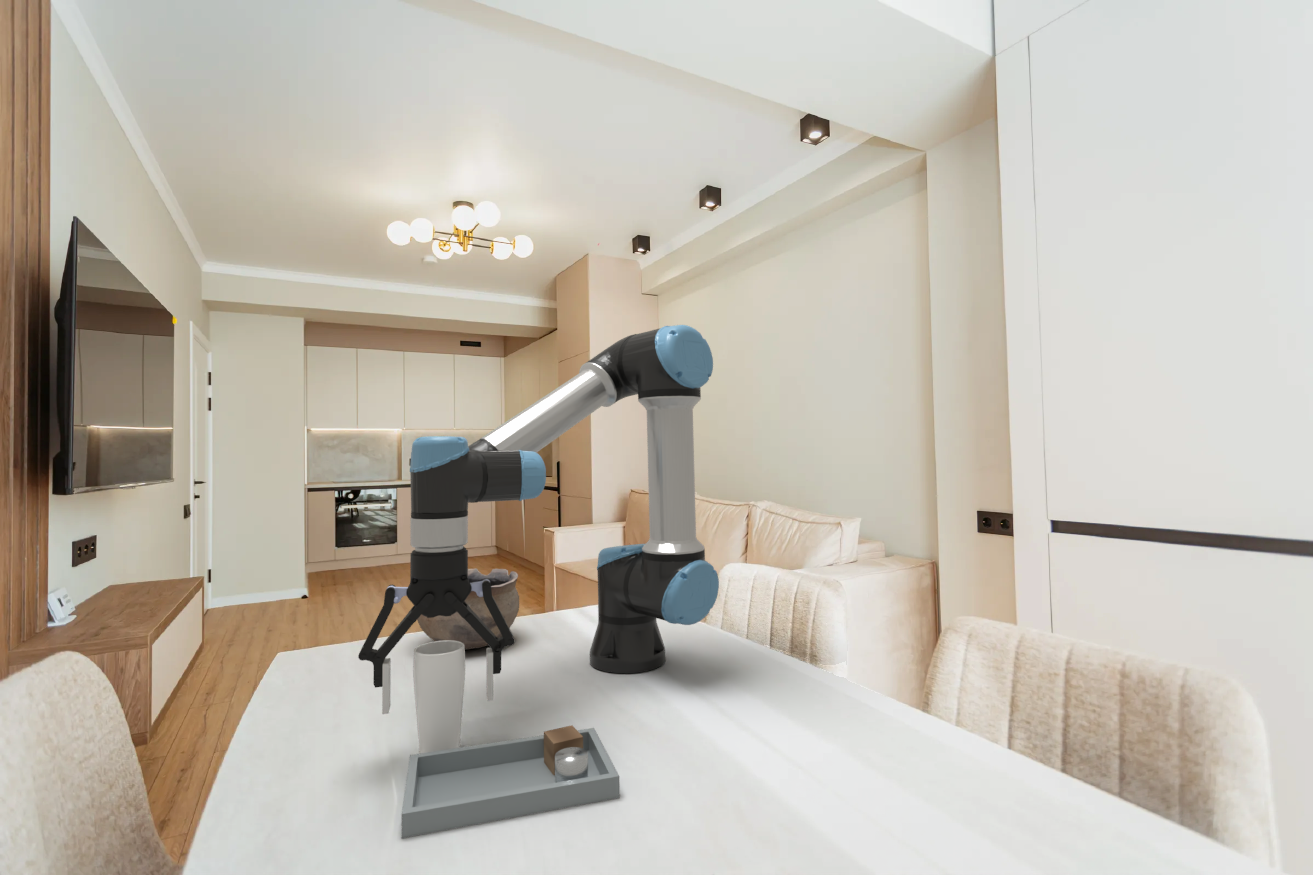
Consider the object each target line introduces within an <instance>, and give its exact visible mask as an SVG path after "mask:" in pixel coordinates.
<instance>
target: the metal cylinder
mask: <svg viewBox="0 0 1313 875" xmlns="http://www.w3.org/2000/svg"><path fill="white" fill-rule="evenodd" d="M586 777H588V752H587V751H586V750H585V749H583V748H578V747H569V748H564V749H562V750H560V751H558V752H557V753H556V754H555V783H557V782H563V781H568V780H574V779H580V778H586Z"/></svg>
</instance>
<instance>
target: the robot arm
mask: <svg viewBox="0 0 1313 875" xmlns="http://www.w3.org/2000/svg"><path fill="white" fill-rule="evenodd" d="M710 347H711V346H709V343H708V342H707V340H706V338H704V337H703V335H702V334H701V332H699V331H698V330H697V329H696V328H694V327H692V326H690V325H686V324H677V325H676V324H675V325H664V326H662V327H660V328H657V329H652V330H649V331H644V332H640V333H634V334H631V335H627V336H626V337H623V338H621V339H620V340H618V341H616V342H614V343H613V344H611V345H610V346H608V347H606V349H604V350H602V351H601V352H599V353H598V354H596V355H595V356H593V357H592V358H591V359H589V360H588V361H586V362H585V363H583V364H581V366H580V368H579V372H578V374H576V375H574V376H572V378H570V379H569V380H567V381H565V382H564V383H562V384H561V385H559V386H557V388H554V390H552V391H551V392H549V393H548V394H546V395H544V396H543V397H541V398H539V399H538V400H537V401H535V402H533V403H532V404H530V405H529V406H528V407H526V408H524V409H523V410H522V411H520V412H518V413H517V414H515V415H514V416H512V417H511V418H509V419H508V420H507V421H504V423H502V424H501V425H498V426H497V427H495V428H494V429H493V430H491V431H490V432H488V433H486V434H485V435H484V436H482V437H480V438H479V439H478V440H475V441H474V442H472V443H471V444H469V442H468V439H467V438H466V437H464V436H448V435H447V436H444V435H443V436H442V435H441V436H440V435H438V436H434V435H431V436H429V435H427V436H419V437H418V438H415V439H414V441H413V442H412V444H411V452H410V463H409V464H410V467H409V474H410V517H409V518H410V524H409V525H410V526H409V528H410V535H409V536H410V546H411V547H412V548H414V549H413V550H412V551H411V552H410V561H409V562H410V576H409V577H410V578H409V580H410V582H409V585H408V586H396V585H395V584H389V585H388V586H386V590H385V591H384V597H383V598H384V599H383V605H382V607H381V609H380V611H379V613H378V615H377V618H376V619H375V622H374V623H373V625H372V627H371V629H370V631H369V633H368V635H367V637H366V638H365V641H364V643H363V645H362V647H361V648H360V651H359V653H358V657H357V658H358V660H360V661H368V662H370V663H371V664H372V665H373V685H374V688H382V704H381V706H382V707H381V708H382V710H381V713H382V715H387V714H390V708H391V690H392V689H391V683H392V682H391V678H392V676H391V675H392V674H391V671H392V670H391V667H392V666H391V662H392V661H391V660H392V659H391V657H387V656H388V655H389V654H390V653H391V652H392V650H393V649H394V648H395V647H396V645H397V644H398V643H399V642H400V641H401V639H403V637H404V636H405V635H406V634H407V632H408V631H409V630H410V628H411V627H412V626H413V625H414V624H415V623H416V622H417V619H418V618H419V617H420V615H421V614H422V615H423V616H426V617H427V618H433V617H436V616H439V615H440V616H451V615H452V614H454V613H456V612H458V613H459V614H460V616H461V617H462V618H464V619H465V620H466V621H467V622H468V623H469V624H470V626H471V627H472V628H473V629H474V630H475V631H476V632H477V633H478V634H479V635H480V636H481V637H482V638H483V640H484V641H485V642H486V643H487V644H488V645H487V646H489V647H487V648H486V652H485V653H486V655H485V656H486V700H487V702H491V701H494V675H497V674H501V672H502V651H503V649H504V648H506V647H510V646H513V645H514V644H515V638H514V635H513V633H512V631H511V629H510V628H509V627H508V625H507V623H506V621H505V619H504V617H503V615H502V613H501V611H500V609H499V607H498V606H497V604H496V602H495V600H494V598H493V596H492V590H491V583H490V580H489V579H487V578H485V579H483V580H482V581H478V582H472V583H470V582H469V580H468V569H469V550H468V549H467V548H466V547H465V545H467V544H468V543H469V534H468V533H469V532H468V531H469V529H468V528H469V527H468V526H469V519H468V518H469V516H468V515H469V503H470V504H471V503H472V504H474V503H476V504H477V503H480V502H482V503H484V502H486V503H487V502H489V503H490V502H508V501H510V502H511V501H518V502H522V501H524V500H532V499H536V498H538V497H539V496H540V495H541V494H542V493H543V491H544V489H545V486H546V482H547V473H546V472H547V467H546V464H545V462H544V459H543V457H542V455H540V454H539V453H538V452H539V451H541V450H542V449H543V448H545V447H546V446H548V445H549V444H551V443H552V442H554V441H555V440H557V439H558V438H559V437H561V436H562V435H564V434H565V433H566V432H568V431H569V430H570V429H571V428H573V427H575V426H576V425H577V424H578V423H580V422H581V421H583V420H584V419H586V418H587V417H589V416H590V415H591V414H592V413H594V412H596V411H597V410H598V409H599V408H601V407H605V408H609V407H611V406H613V405H614V404H616V402H618V401H620V400H623V399H625V398H627V397H631V396H636V395H637V397H638V398H637V400H638V401H637V402H639V403H640V405H642V407H643V408H645V410H646V434H647V435H646V436H647V437H646V438H647V440H646V441H647V443H646V444H647V470H648V471H647V476H648V477H647V478H648V479H647V481H648V482H647V483H648V516H649V518H648V519H649V520H648V521H649V522H648V524H649V538H648V541H647V542H646V543H637V544H626V545H615V546H610V547H605V548H602V549H601V550H599V553H598V556H597V558H598V559H597V567H596V570H597V609H598V610H597V612H598V613H597V616H598V617H597V618H598V620H597V621H598V622H597V625H596V629H595V633H594V636H593V640H592V643H591V646H590V650H589V664H590V665H591V667H593V668H594V669H596V670H598V671H603V672H605V673H606V672H607V673H614V674H636V673H645V672H648V671H653V670H655V669H657V668H660V667H661V666H663V665H664V664H665V663H666V658H667V656H666V646H665V643H664V641H663V637H662V634H661V632H660V629H659V628H660V627H659V626H658V622H657V619H659V620H662V621H665V622H667V623H668V624H674V625H676V624H677V625H684V626H691V625H694V624H697V623H699V622H701V621H702V620H704V619H705V617H708V614H709V613H710V610H711V609H713V607H714V605H715V603H716V601H717V598H718V594H719V589H720V585H719V584H720V580H719V575H718V572H717V570H716V569H715V567H714V566H713V565H712V564H711V563H710V562H708V561H706V553H705V552H706V550H705V546H704V544H703V543H702V542H700V541H699V539H698V538H697V527H696V525H697V524H696V523H697V522H696V521H697V520H696V515H697V514H696V488H695V487H696V486H695V485H696V484H695V481H696V480H695V479H696V477H695V447H694V446H695V444H694V440H695V438H694V407H696V406H697V404H698V403H699V402H700V401H701V399H702V398H701V397H702V396H701V392H702V391H701V388H702V387H703V386H704V385H706V384H707V383H708V382H709V381H710V379H709V378H710V377H712V374H713V370H714V369H713V368H714V357H713V353H712V350H711V348H710ZM471 591H475V592H476V593H477V595H478V596H479V597H483V598H484V601H485V604H486V606H487V608H488V610H489V611H490V613H491V615H492V617H493V619H494V621H495V623H496V625H497V627H498V629H499V631H500V633H501V635H502V637H500V638H497V637H496V636H495V634H494V633H493V632H492V631H491V630H490V629H489V628H488V627H487V626H486V625H485V624H484V622H483V621H482V620H481V619H480V618H479V617H478V616H477V615H476V614H475V613H474V612H473V611H472V609H471V608H470V607H469V605H468V604H467V603H466V602H465V600H466V598H467V597H468V595H469V594H470V593H471ZM404 597H407V599H408V600H409V602H410V603H412V605H413V606H412V607H411V608H410V609H409V611H408V612H407V614H406V615H405V616H404V617H403V619H401V621H400V622H399V624H398V625H397V626H396V627H395V628H394V630H393V631H392V632H391V633H390V634H389V636H388V637H387V638H386V639H385V640H384V641H383V643H382V644H381V645H380V647H379V648H378V649H376V648H375V649H374V646H375V644H376V641H377V640H378V638H379V636H380V634H381V632H382V630H383V628H384V626H385V624H386V622H387V620H388V618H389V617H390V614H391V612H392V610H393V608H394V605H395V604H398V603H399V604H400V602H401V600H402V598H404Z"/></svg>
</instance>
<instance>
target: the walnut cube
mask: <svg viewBox="0 0 1313 875" xmlns="http://www.w3.org/2000/svg"><path fill="white" fill-rule="evenodd" d="M577 730H578V729H576V728H575V727H574V726H573V724H572V725H567V726H563V727H559V728H554V729H550V730H545V731H543V735H544V763H545V764H546V766H547V767H548V769H549V770H550V771H551V773H552V774H553V775H555V754H556V753H557V752H558V751H560V750H562V749H564V748H569V747H578V748H583V736H582V735H581V734H580V733H579V732H578V731H577Z"/></svg>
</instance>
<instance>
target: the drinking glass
mask: <svg viewBox="0 0 1313 875" xmlns="http://www.w3.org/2000/svg"><path fill="white" fill-rule="evenodd" d="M465 650H466V649H465V645H464V644H463V643H462V642H459V641H451V640H445V641H435V642H434V641H430V642H426V643H422V644H420V645H418V646H416V647H415V648H414V649H413V664H412V665H413V666H412V678H413V679H412V680H413V692H414V693H413V694H414V701H415V715H416V723H417V724H416V725H417V727H416V728H417V737H418V754H420V753H427V752H433V751H440V750H447V749H454V748H460V747H461V731H462V720H463V719H462V718H463V706H464V696H465V693H464V692H465V681H466V651H465Z"/></svg>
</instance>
